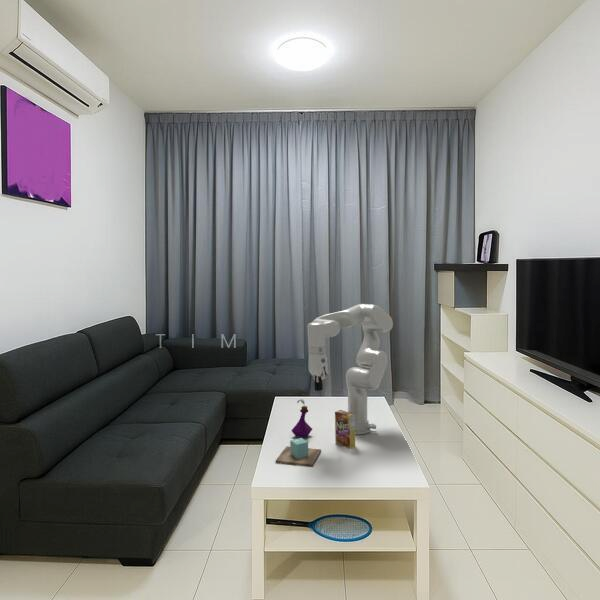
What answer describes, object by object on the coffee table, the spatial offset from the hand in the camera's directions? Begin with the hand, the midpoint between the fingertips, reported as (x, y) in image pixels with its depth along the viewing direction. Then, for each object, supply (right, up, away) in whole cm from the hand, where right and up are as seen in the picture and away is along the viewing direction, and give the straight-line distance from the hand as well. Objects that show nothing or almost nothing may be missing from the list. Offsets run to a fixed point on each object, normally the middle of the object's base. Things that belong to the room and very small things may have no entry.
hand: (318, 389), depth 207 cm
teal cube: (-9, -26, -9) cm, 29 cm away
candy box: (+12, -26, +4) cm, 29 cm away
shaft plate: (-9, -27, -9) cm, 30 cm away
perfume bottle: (-7, -26, +15) cm, 31 cm away
